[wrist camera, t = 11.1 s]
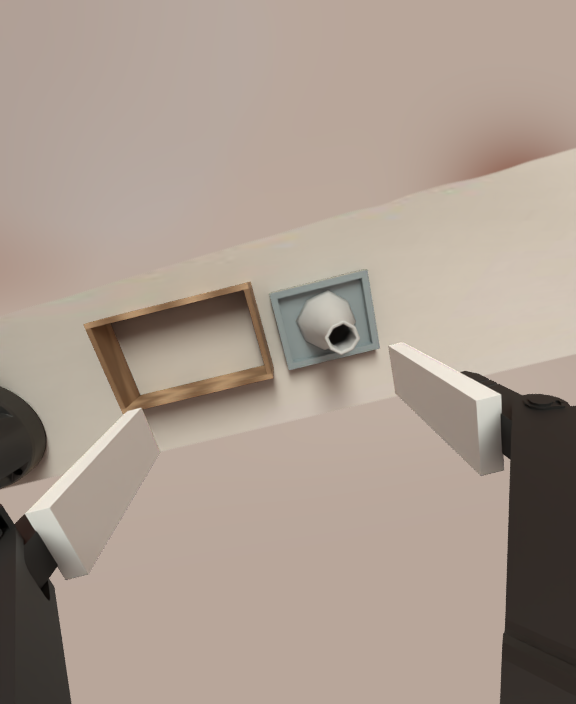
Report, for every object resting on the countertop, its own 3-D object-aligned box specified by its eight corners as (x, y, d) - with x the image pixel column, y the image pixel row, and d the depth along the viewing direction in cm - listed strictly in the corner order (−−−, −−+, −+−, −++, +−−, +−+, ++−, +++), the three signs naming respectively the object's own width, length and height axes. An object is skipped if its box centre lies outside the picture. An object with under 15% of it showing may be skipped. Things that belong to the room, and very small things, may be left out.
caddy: (137, 400, 40) (122, 414, 36) (103, 318, 37) (83, 324, 33) (273, 367, 40) (273, 378, 36) (250, 281, 36) (247, 283, 33)
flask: (365, 321, 38) (395, 338, 28) (323, 359, 39) (338, 388, 29) (328, 279, 36) (346, 282, 26) (285, 319, 37) (288, 337, 28)
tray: (288, 365, 40) (288, 370, 38) (269, 292, 37) (269, 293, 35) (375, 344, 39) (379, 348, 38) (363, 269, 37) (367, 269, 35)
